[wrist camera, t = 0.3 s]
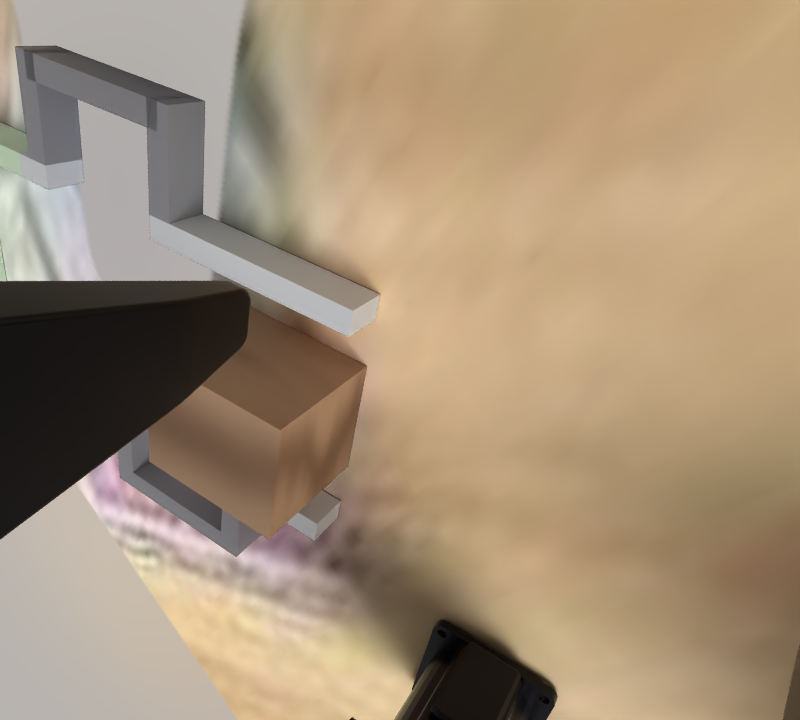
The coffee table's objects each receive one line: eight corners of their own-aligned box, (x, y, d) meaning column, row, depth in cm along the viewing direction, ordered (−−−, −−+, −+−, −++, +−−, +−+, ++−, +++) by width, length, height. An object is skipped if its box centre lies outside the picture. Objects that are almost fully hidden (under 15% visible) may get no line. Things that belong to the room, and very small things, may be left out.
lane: (337, 517, 33) (314, 540, 32) (78, 358, 40) (48, 371, 39) (380, 294, 26) (353, 310, 25) (56, 147, 33) (18, 153, 31)
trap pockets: (260, 535, 38) (236, 556, 36) (92, 425, 43) (65, 440, 41) (299, 136, 25) (265, 143, 24) (56, 45, 30) (15, 46, 28)
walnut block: (349, 465, 32) (268, 539, 27) (240, 402, 34) (149, 461, 29) (368, 365, 28) (280, 430, 24) (246, 304, 31) (145, 352, 26)
